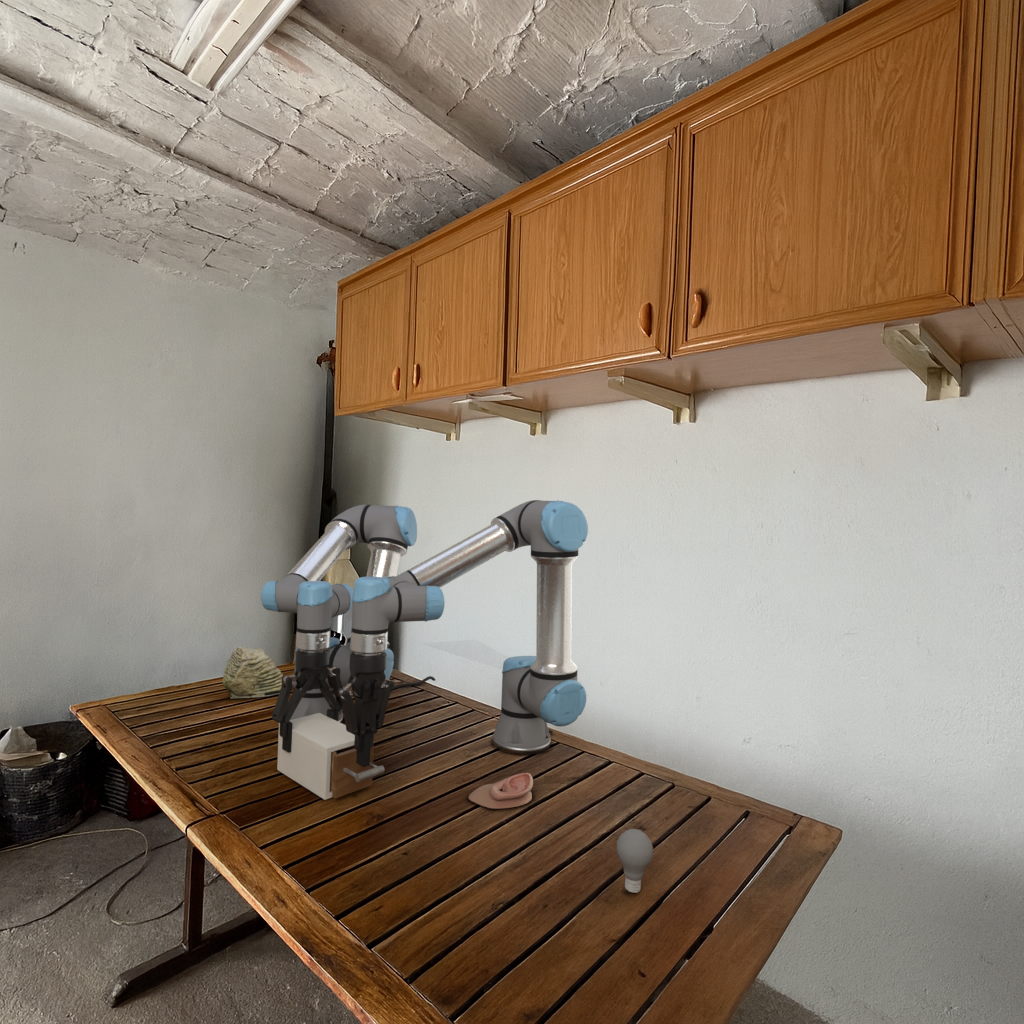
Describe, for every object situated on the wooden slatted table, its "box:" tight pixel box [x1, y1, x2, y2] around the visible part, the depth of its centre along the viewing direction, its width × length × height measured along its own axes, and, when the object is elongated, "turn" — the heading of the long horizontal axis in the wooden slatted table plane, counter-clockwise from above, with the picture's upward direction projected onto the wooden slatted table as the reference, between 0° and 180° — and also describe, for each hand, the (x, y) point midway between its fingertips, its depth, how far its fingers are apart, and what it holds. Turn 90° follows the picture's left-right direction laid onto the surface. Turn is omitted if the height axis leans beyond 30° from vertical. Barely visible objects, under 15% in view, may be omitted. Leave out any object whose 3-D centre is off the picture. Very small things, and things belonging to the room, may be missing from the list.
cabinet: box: [276, 713, 355, 801], centre depth 143 cm, size 20×10×11 cm, turn 49°
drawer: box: [330, 744, 386, 800], centre depth 139 cm, size 25×9×9 cm, turn 49°
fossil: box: [222, 646, 284, 699], centre depth 198 cm, size 9×18×15 cm, turn 132°
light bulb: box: [615, 828, 654, 894], centre depth 106 cm, size 6×6×10 cm
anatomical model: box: [468, 772, 534, 810], centre depth 137 cm, size 13×4×12 cm
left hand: (309, 743), depth 146 cm, fingers closed on cabinet, 10 cm apart
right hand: (362, 764), depth 132 cm, fingers closed
